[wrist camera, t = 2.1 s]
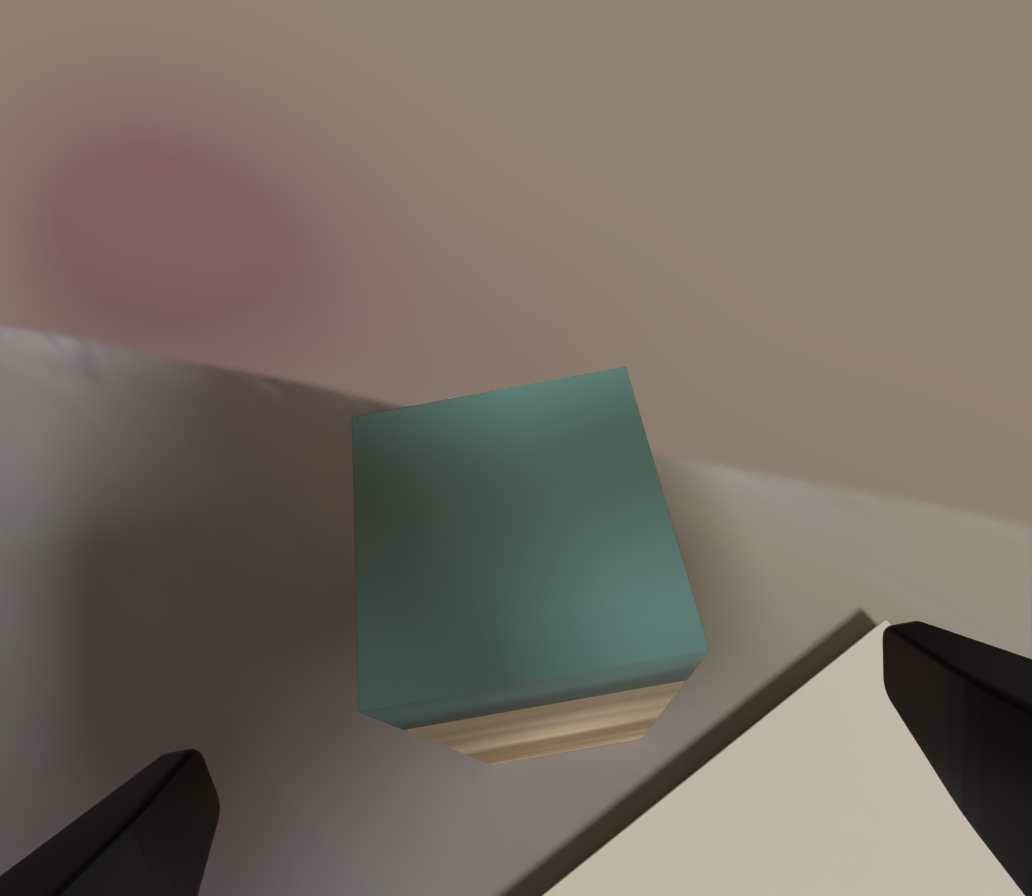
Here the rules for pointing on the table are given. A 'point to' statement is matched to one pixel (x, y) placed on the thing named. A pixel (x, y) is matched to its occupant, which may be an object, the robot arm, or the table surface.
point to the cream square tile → (805, 809)
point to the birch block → (518, 571)
